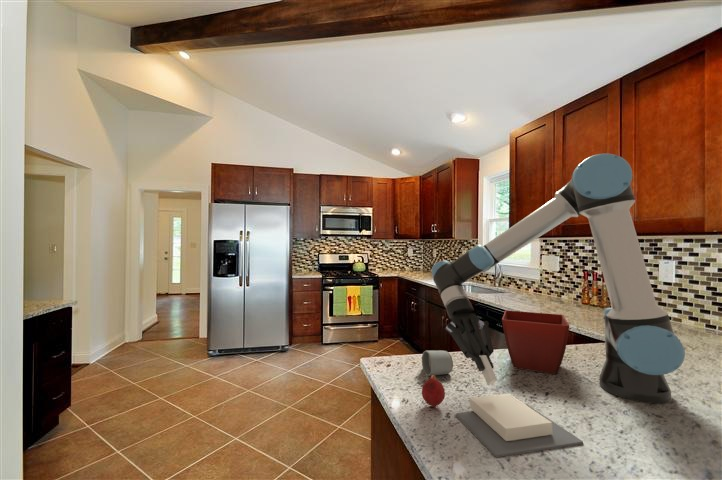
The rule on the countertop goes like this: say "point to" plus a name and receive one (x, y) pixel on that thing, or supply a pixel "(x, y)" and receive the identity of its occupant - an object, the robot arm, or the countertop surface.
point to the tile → (510, 417)
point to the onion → (433, 392)
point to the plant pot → (535, 340)
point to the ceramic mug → (436, 362)
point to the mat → (519, 446)
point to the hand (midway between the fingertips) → (492, 382)
